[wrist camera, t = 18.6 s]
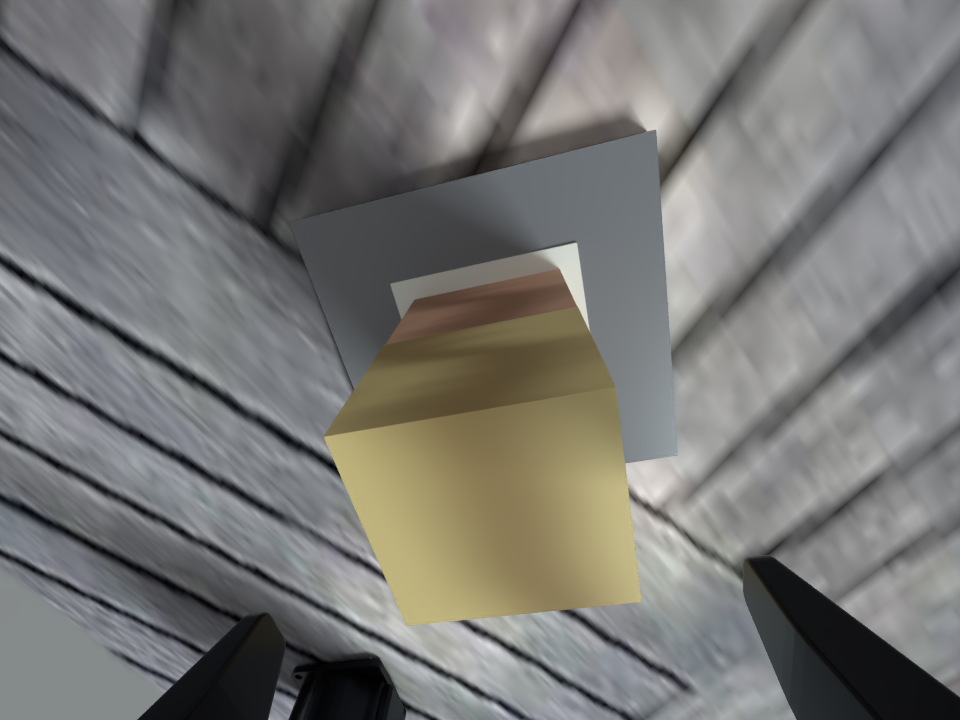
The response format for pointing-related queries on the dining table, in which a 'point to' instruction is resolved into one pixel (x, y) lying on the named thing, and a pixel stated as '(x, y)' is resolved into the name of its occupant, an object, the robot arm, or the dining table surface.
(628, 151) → the charcoal baseplate
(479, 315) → the terracotta brick
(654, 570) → the dining table surface
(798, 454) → the dining table surface
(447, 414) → the ochre brick
